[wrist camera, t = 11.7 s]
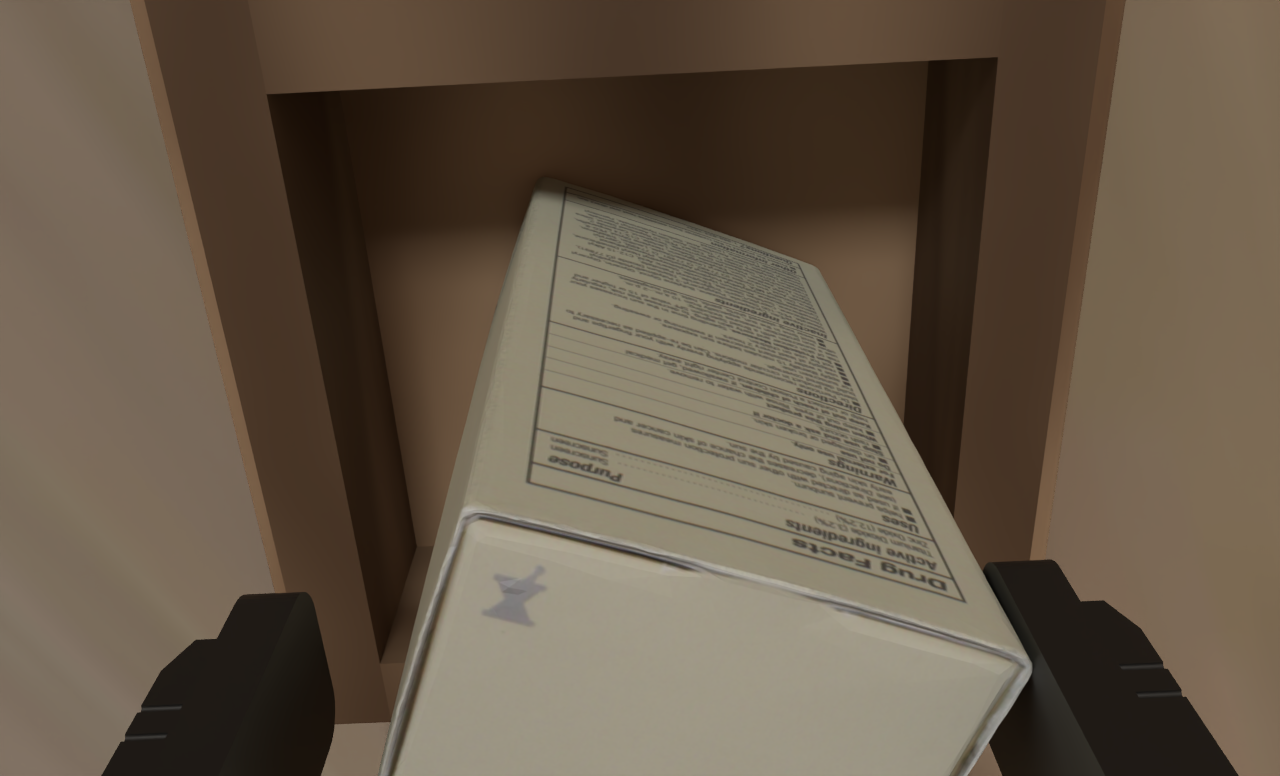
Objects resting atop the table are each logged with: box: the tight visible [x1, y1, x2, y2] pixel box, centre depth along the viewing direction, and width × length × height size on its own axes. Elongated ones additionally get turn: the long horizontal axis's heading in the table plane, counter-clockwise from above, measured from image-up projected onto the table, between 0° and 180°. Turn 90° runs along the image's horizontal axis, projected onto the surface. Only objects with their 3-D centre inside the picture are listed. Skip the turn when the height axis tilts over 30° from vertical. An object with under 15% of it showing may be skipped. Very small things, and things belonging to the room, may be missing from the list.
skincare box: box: [378, 177, 1033, 776], centre depth 17 cm, size 6×4×12 cm
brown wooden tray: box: [130, 0, 1125, 724], centre depth 21 cm, size 18×18×5 cm
